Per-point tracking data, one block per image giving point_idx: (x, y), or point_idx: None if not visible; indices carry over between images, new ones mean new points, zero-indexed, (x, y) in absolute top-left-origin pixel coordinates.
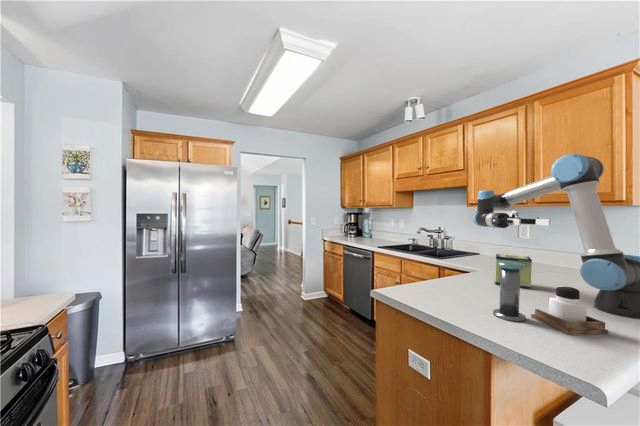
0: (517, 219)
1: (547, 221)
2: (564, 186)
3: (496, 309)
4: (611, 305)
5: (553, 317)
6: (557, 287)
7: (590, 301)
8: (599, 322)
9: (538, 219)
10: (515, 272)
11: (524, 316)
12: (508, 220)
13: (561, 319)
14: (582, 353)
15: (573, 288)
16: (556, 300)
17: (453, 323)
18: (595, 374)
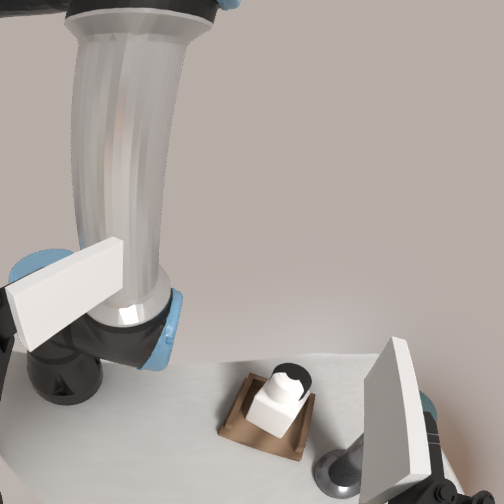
0: (405, 357)
1: (113, 262)
2: (195, 10)
3: (350, 495)
4: (96, 374)
5: (310, 415)
6: (307, 387)
7: (24, 406)
8: (259, 376)
9: (41, 286)
10: None
11: (325, 456)
12: (433, 436)
13: (310, 404)
14: (347, 377)
15: (289, 367)
16: (301, 403)
17: (444, 461)
18: (371, 359)
